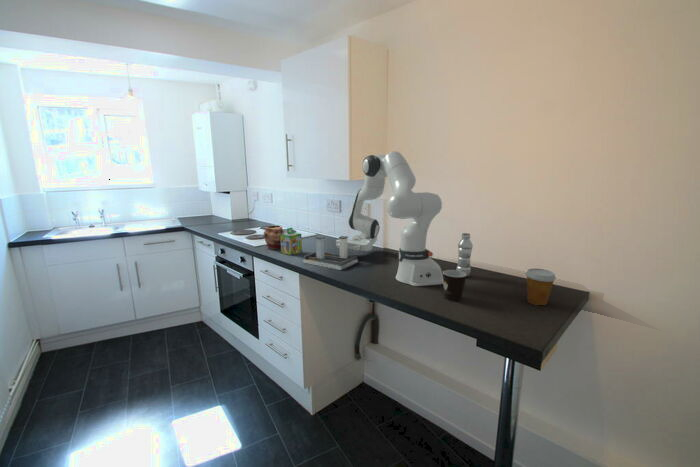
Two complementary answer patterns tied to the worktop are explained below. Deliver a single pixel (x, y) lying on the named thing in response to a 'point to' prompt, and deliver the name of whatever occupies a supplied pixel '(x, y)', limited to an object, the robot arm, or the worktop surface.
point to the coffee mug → (453, 284)
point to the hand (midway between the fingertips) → (345, 247)
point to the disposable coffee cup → (539, 285)
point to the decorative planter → (273, 236)
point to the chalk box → (291, 242)
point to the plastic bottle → (464, 254)
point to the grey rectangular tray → (330, 261)
